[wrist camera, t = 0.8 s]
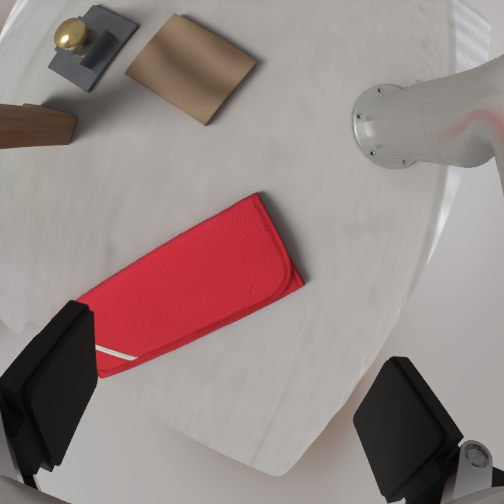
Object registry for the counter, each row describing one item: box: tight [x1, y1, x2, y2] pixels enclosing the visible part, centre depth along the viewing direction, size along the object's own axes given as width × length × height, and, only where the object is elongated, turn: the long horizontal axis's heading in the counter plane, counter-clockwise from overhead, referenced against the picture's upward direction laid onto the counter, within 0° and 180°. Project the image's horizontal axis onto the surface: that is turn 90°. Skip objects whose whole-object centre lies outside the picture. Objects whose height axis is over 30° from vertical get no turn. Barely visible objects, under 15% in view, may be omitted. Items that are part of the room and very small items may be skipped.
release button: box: [54, 18, 88, 50], centre depth 26 cm, size 4×4×2 cm
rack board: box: [125, 13, 257, 126], centre depth 34 cm, size 11×14×2 cm
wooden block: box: [0, 103, 78, 149], centre depth 27 cm, size 9×4×18 cm, turn 66°
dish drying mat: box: [51, 193, 305, 378], centre depth 44 cm, size 16×41×4 cm, turn 118°
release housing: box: [48, 5, 138, 92], centre depth 30 cm, size 12×10×4 cm
